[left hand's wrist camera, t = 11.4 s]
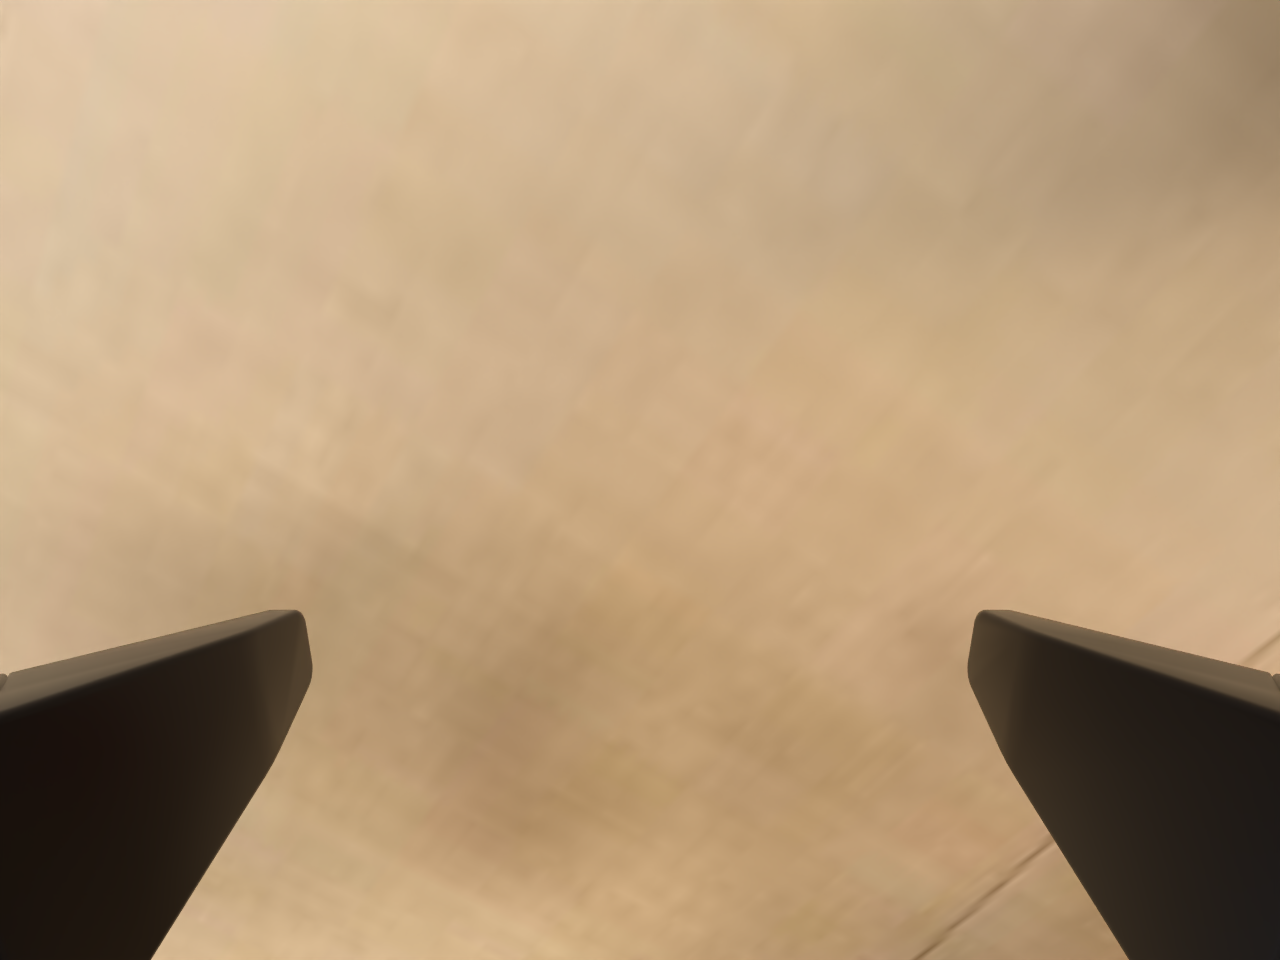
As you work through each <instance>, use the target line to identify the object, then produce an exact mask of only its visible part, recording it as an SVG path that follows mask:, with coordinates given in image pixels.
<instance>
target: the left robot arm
mask: <svg viewBox="0 0 1280 960" xmlns="http://www.w3.org/2000/svg"><path fill="white" fill-rule="evenodd" d="M311 678H312V659H311V652H310V646H309V640H308V634H307V628H306V622H305V619H304V616H303V614H302V613H301V612H300V611H297V610H269V611H265V612H260V613H256V614H252V615H248V616H244V617H240V618H236V619H231V620H227V621H223V622H219V623H215V624H211V625H207V626H202V627H198V628H194V629H190V630H186V631H182V632H178V633H173V634H169V635H165V636H161V637H157V638H153V639H149V640H144V641H140V642H136V643H132V644H128V645H124V646H120V647H115V648H111V649H107V650H103V651H99V652H95V653H91V654H86V655H82V656H78V657H74V658H70V659H66V660H62V661H58V662H53V663H49V664H45V665H41V666H37V667H33V668H29V669H24V670H20V671H16V672H12V673H10V674H9V676H8V677H7V675H5V674H0V960H151V959H152V957H153V955H154V954H155V952H156V951H157V949H158V947H159V946H160V944H161V943H162V941H163V939H164V938H165V936H166V935H167V933H168V931H169V930H170V928H171V927H172V925H173V923H174V922H175V920H176V919H177V917H178V915H179V914H180V912H181V911H182V909H183V907H184V906H185V904H186V903H187V901H188V899H189V898H190V896H191V895H192V893H193V891H194V890H195V888H196V887H197V885H198V883H199V882H200V880H201V879H202V877H203V875H204V874H205V872H206V871H207V869H208V867H209V866H210V864H211V863H212V861H213V859H214V858H215V856H216V855H217V853H218V851H219V850H220V848H221V847H222V845H223V843H224V842H225V840H226V839H227V837H228V835H229V834H230V832H231V831H232V829H233V827H234V826H235V824H236V823H237V821H238V819H239V818H240V816H241V815H242V813H243V811H244V810H245V808H246V807H247V805H248V803H249V802H250V800H251V799H252V797H253V795H254V794H255V792H256V791H257V789H258V787H259V786H260V784H261V783H262V781H263V779H264V778H265V776H266V774H267V773H268V771H269V769H270V767H271V766H272V764H273V762H274V760H275V758H276V756H277V754H278V752H279V750H280V748H281V746H282V744H283V742H284V740H285V737H286V735H287V733H288V731H289V729H290V727H291V724H292V722H293V720H294V718H295V716H296V713H297V711H298V709H299V707H300V705H301V703H302V700H303V698H304V696H305V694H306V692H307V689H308V687H309V685H310V682H311ZM968 678H969V682H970V685H971V687H972V689H973V692H974V694H975V696H976V698H977V700H978V703H979V705H980V707H981V709H982V711H983V713H984V716H985V718H986V720H987V722H988V724H989V727H990V729H991V731H992V733H993V735H994V737H995V740H996V742H997V744H998V746H999V748H1000V750H1001V752H1002V754H1003V756H1004V758H1005V760H1006V762H1007V764H1008V766H1009V767H1010V769H1011V771H1012V773H1013V774H1014V776H1015V778H1016V779H1017V781H1018V783H1019V784H1020V786H1021V787H1022V789H1023V791H1024V792H1025V794H1026V795H1027V797H1028V799H1029V800H1030V802H1031V803H1032V805H1033V807H1034V808H1035V810H1036V811H1037V813H1038V815H1039V816H1040V818H1041V819H1042V821H1043V823H1044V824H1045V826H1046V827H1047V829H1048V831H1049V832H1050V834H1051V835H1052V837H1053V839H1054V840H1055V842H1056V843H1057V845H1058V847H1059V848H1060V850H1061V851H1062V853H1063V855H1064V856H1065V858H1066V859H1067V861H1068V863H1069V864H1070V866H1071V867H1072V869H1073V871H1074V872H1075V874H1076V875H1077V877H1078V879H1079V880H1080V882H1081V883H1082V885H1083V887H1084V888H1085V890H1086V891H1087V893H1088V895H1089V896H1090V898H1091V899H1092V901H1093V903H1094V904H1095V906H1096V907H1097V909H1098V911H1099V912H1100V914H1101V915H1102V917H1103V919H1104V920H1105V922H1106V923H1107V925H1108V927H1109V928H1110V930H1111V931H1112V933H1113V935H1114V936H1115V938H1116V939H1117V941H1118V943H1119V944H1120V946H1121V947H1122V949H1123V951H1124V952H1125V954H1126V955H1127V957H1128V959H1129V960H1280V674H1275V675H1273V677H1272V676H1271V674H1270V673H1268V672H1264V671H1260V670H1256V669H1252V668H1248V667H1243V666H1239V665H1235V664H1231V663H1227V662H1223V661H1219V660H1214V659H1210V658H1206V657H1202V656H1198V655H1194V654H1190V653H1185V652H1181V651H1177V650H1173V649H1169V648H1165V647H1161V646H1156V645H1152V644H1148V643H1144V642H1140V641H1136V640H1131V639H1127V638H1123V637H1119V636H1115V635H1111V634H1107V633H1102V632H1098V631H1094V630H1090V629H1086V628H1082V627H1078V626H1073V625H1069V624H1065V623H1061V622H1057V621H1053V620H1049V619H1044V618H1040V617H1036V616H1032V615H1028V614H1024V613H1020V612H1015V611H1011V610H983V611H980V612H979V613H978V614H977V616H976V619H975V622H974V628H973V634H972V640H971V646H970V652H969V659H968Z"/></svg>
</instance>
